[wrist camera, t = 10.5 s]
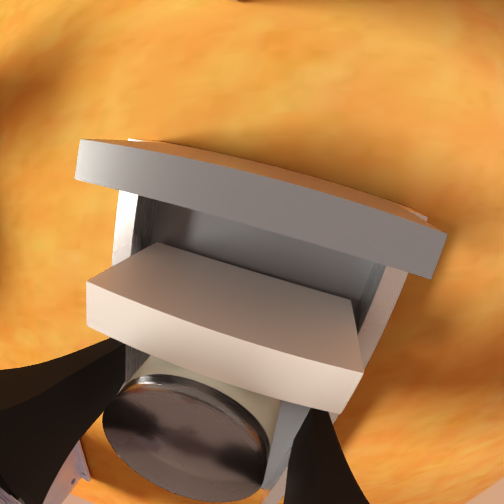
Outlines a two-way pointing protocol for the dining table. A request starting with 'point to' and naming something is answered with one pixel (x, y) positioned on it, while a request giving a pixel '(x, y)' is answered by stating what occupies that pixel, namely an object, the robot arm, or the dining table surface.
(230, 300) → the block
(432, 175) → the dining table surface
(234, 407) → the cream jar with lid
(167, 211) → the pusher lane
